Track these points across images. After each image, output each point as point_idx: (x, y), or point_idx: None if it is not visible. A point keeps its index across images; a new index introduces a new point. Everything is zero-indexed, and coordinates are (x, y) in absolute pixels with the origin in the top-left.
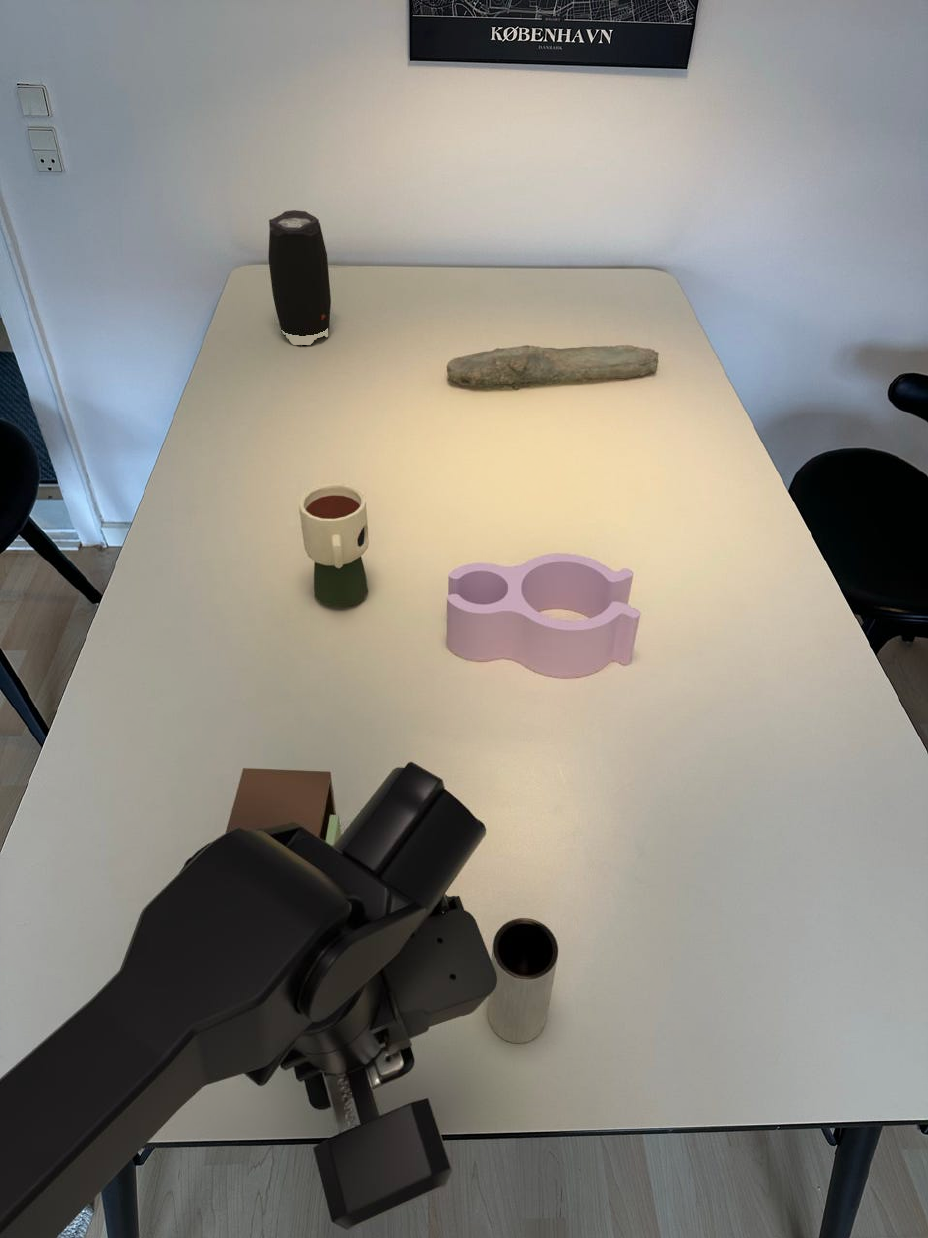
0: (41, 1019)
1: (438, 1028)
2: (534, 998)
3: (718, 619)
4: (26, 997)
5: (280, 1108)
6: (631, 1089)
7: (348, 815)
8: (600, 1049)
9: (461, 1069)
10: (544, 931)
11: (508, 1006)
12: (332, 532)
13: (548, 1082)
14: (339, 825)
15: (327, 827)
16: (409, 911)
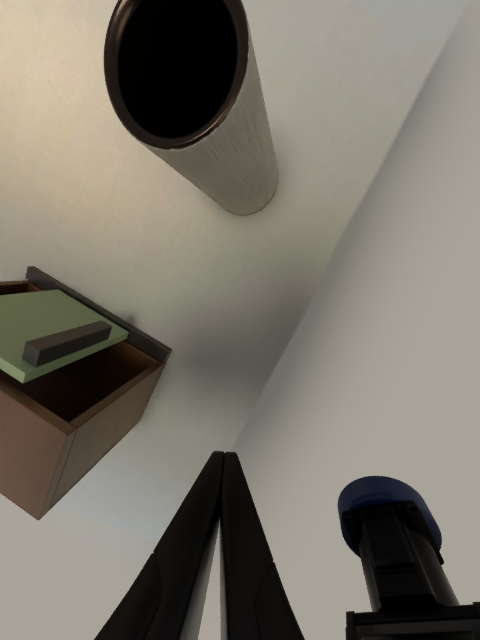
0: (114, 512)
1: (224, 267)
2: (263, 120)
3: None
4: (98, 514)
5: (230, 414)
6: (388, 73)
7: (10, 262)
8: (325, 93)
9: (269, 263)
10: None
11: (248, 179)
12: None
13: (326, 178)
14: None
15: (2, 293)
16: None
